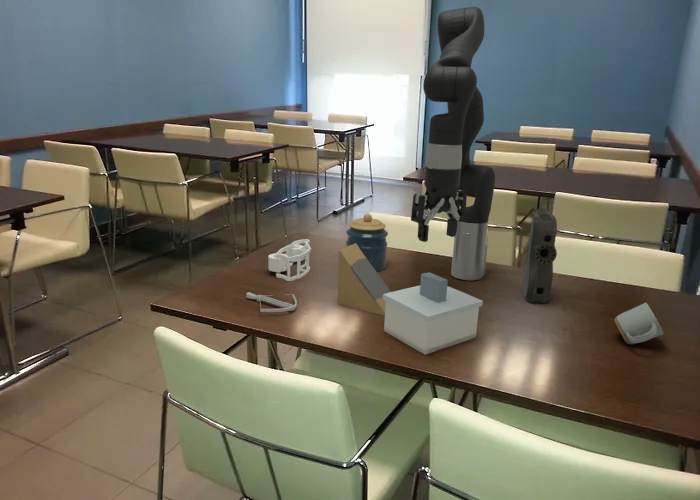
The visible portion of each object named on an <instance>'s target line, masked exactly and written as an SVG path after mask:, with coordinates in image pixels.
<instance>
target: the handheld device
mask: <svg viewBox="0 0 700 500" xmlns="http://www.w3.org/2000/svg"><path fill="white" fill-rule="evenodd" d="M557 227H558V223H557V218H556V216H554V214H553V213H551V212H550V211H548V210H547V209H544V208H539V209H537V210H534V211H533V215H532V220H531V225H530V230H529V236H528V242H527V246H526V247H527V248H526V253H525V260H524V266H523V272H522V279H521V287H520V290H521V294H522V297H523V299H524V300H525V302H527V303H530V304H533V303H534V304H535V303H536V304H548V302H549V299H550V296H551V291H552V284H553V279H554V277H553V275H554V274H553V273H554V263H553V262H554V261H555V260H556V258H557V256H558V255H557V253H558V252H557V249H556V246H555V244H556V238H557V229H558V228H557Z"/></svg>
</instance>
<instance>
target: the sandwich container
mask: <svg viewBox="0 0 700 500" xmlns="http://www.w3.org/2000/svg"><path fill="white" fill-rule="evenodd" d="M337 272H338V273H337V275H338V276H337V277H338V279H337V281H338V282H337V304H338V305H341V306H345V307H347V308H351V309H356V310H360V311H364V312H367V313H372V314H377V315H379V316H383V317H385V306H386V300H384V299H383V294H386V293H390V292H392V291H391V290H390V289H389V287H388V286H387V284H386V283H385V282H384V281H383V279H382V278H381V276H380V275H379V272H376V271H375V269H374V268H373V267H372V265H371V264H370V262H369V261H368V260H367V258H366V257H365V255H364V254H363V253H362V251H361V250H360V248H359V247H358V245H357V244H356V243H355V244H353V245H350V246H347V247H346V246H345V247H343V248H340V249H339V250H338V271H337Z"/></svg>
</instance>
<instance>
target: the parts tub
mask: <svg viewBox="0 0 700 500" xmlns="http://www.w3.org/2000/svg"><path fill="white" fill-rule="evenodd" d="M479 311H480V307H477V308H473V309H470V310H467V311H463V312H460V313H456V314H453V315H450V316H446V317H443V318H440V319H436V320H433V321H429V322H427V321H425V320H423V319H421V318H419V317H417V316H415V315H413V314H411V313H409V312H407V311H405V310H403V309H401V308H399V307H397V306H395V305H393V304H392V303H390V302H388V301H386V306H385V316H384V323H383V324H384V327H383V332H385V333H387V334H388V335H391V336H392V337H394V338H396V340H399V341H400V342H402V343H404V344H406V345H407V346H408V347H409V346H410V347H411V348H412V349H415V350H416V351H418V352H419V353H421V354H423V355H424V356H425V355H426V356H427V355H428V354H431V353H435V352H437V351H441V350H443V349H446V348H450V347H452V346H455V345H458V344H461V343H463V342H467V341H469V340H470V341H471V340H472V339H476V336H477V328H478V321H479V320H478V319H479Z"/></svg>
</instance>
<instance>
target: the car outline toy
mask: <svg viewBox="0 0 700 500" xmlns="http://www.w3.org/2000/svg"><path fill="white" fill-rule="evenodd" d="M310 242H311V241H310V239H308V238H307V239H303V238H302V239H298V240H294V241H292V243H290V244H288V245H286V246H284V247H282V248H280V249H279V250H278V251H277V252H275V253H271V254H269V255H268V257H267V258H268V259H267V260H268V261H267V263H268V270H269V272H275V276H276V278H277V279H278V278H279V279H282V280H284V281H286V282H291V281H292V282H293V281H296V280H299V279H301V278H303V277H304V276H305V275H307V274H308V273H309V272H310V270H311V266H310V253H312V247H311V246H310ZM302 244H304V245H302ZM284 252H285V253H284ZM304 260H305V262H304V264H302V263H301V262H302V261H304ZM294 263H296V275H294V276H291V266H293V265H294ZM301 264H302V265H301ZM305 268H306V269H305ZM285 271H286V272H287V275H284V274H281V272H285ZM301 272H302V273H301Z"/></svg>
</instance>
